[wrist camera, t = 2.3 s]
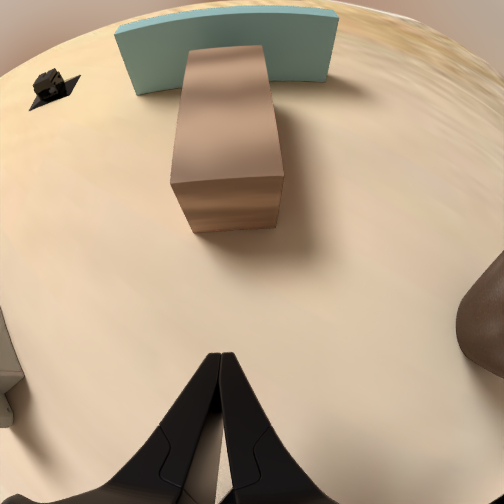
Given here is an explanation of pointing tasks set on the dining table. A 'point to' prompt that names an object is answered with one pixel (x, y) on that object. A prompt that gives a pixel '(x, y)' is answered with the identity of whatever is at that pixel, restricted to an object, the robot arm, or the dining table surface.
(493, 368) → the plant pot
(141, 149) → the dining table surface
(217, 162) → the walnut block
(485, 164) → the dining table surface
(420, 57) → the dining table surface
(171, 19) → the teal board
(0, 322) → the digital clock
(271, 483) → the robot arm
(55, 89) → the black block on plate
